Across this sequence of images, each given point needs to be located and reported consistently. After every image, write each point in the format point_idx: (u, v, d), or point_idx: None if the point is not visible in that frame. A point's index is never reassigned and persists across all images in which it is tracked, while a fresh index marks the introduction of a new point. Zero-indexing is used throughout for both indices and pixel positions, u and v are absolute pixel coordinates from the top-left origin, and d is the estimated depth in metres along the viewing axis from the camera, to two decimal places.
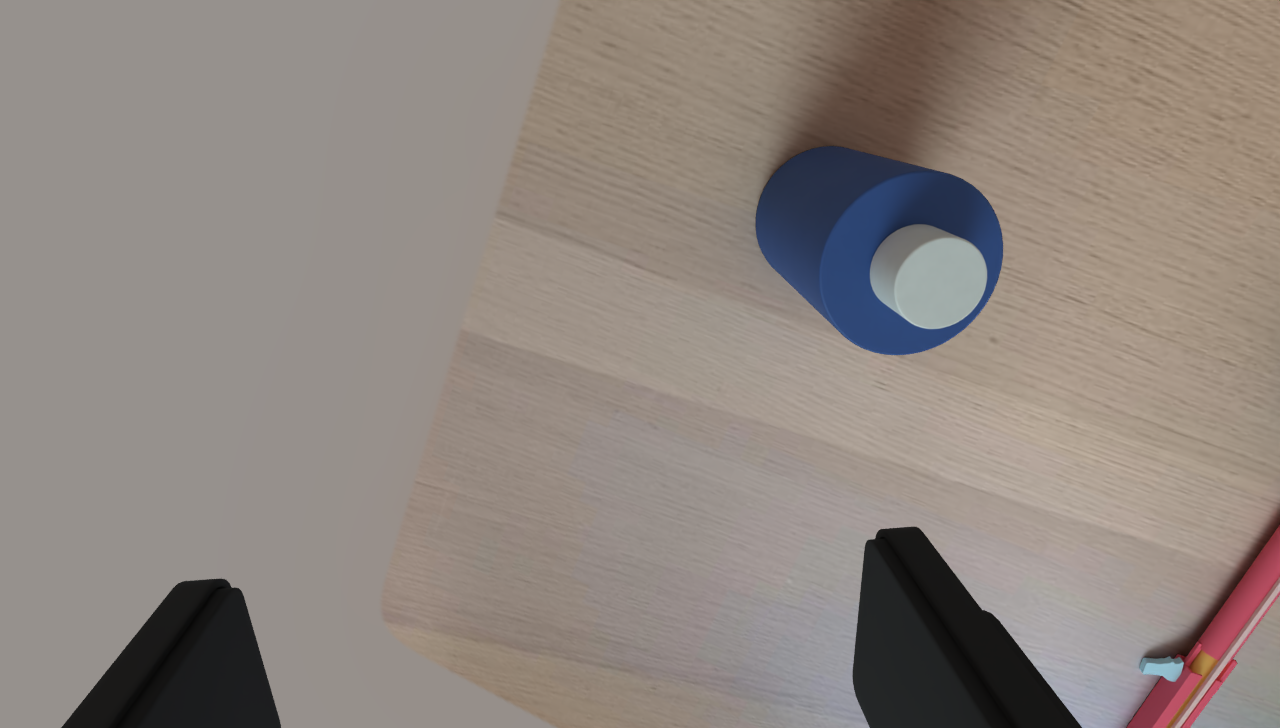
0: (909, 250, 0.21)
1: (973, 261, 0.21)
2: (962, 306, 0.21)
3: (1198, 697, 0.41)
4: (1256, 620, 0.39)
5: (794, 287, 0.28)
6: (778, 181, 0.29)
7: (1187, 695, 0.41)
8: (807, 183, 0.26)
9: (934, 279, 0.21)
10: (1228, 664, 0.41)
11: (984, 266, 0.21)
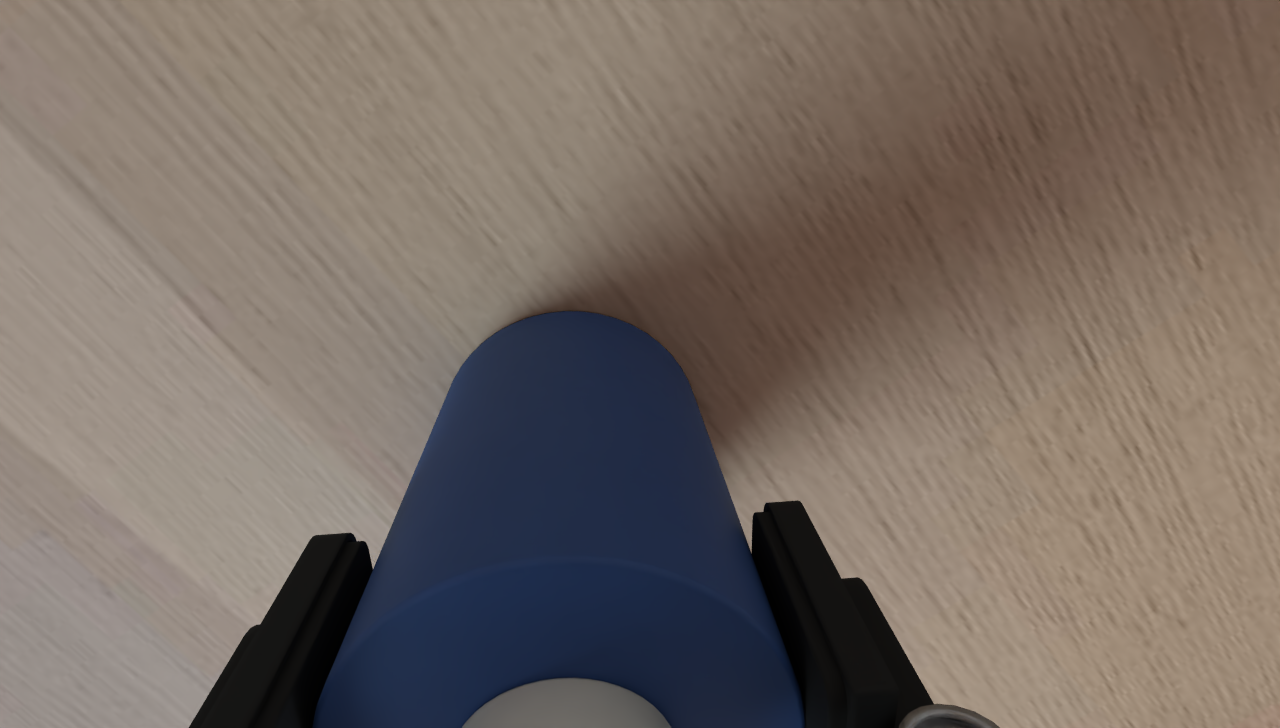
0: None
1: None
2: None
3: None
4: None
5: None
6: (517, 338, 0.15)
7: None
8: (524, 394, 0.12)
9: None
10: None
11: None
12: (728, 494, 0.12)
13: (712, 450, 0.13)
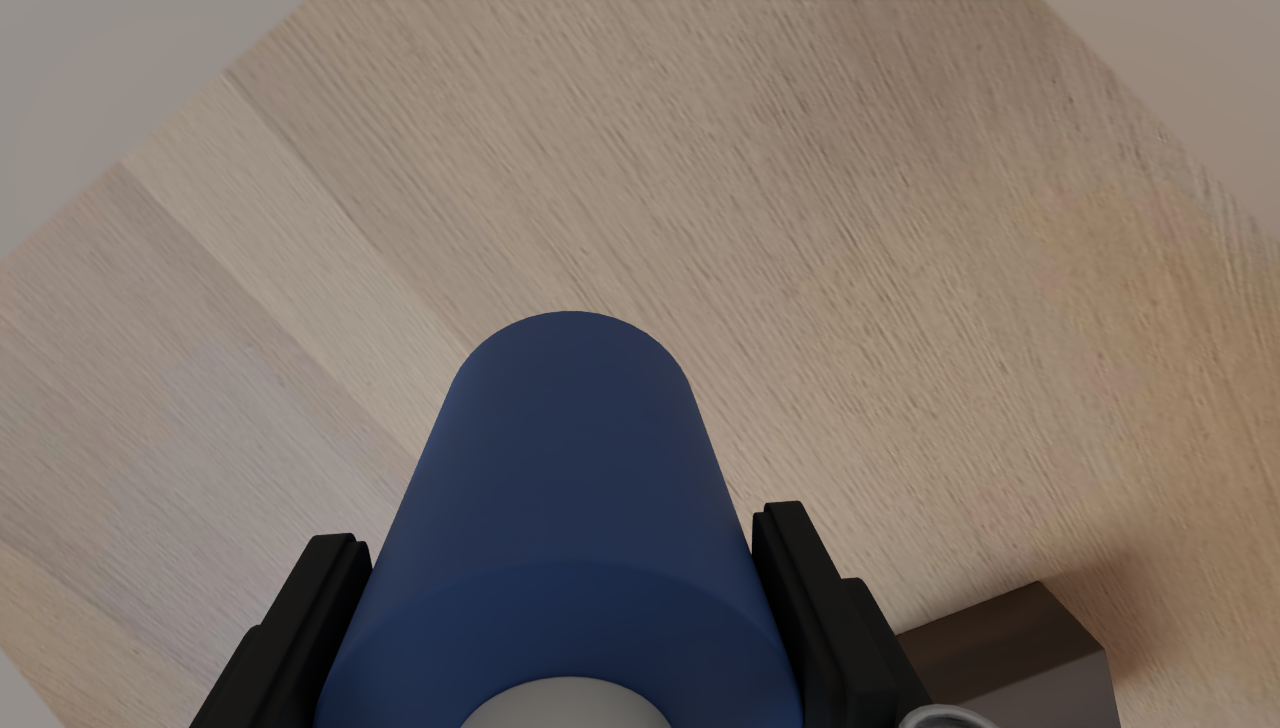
0: None
1: None
2: None
3: None
4: None
5: None
6: (517, 338, 0.15)
7: None
8: (524, 393, 0.12)
9: None
10: None
11: None
12: (727, 493, 0.12)
13: (711, 450, 0.13)
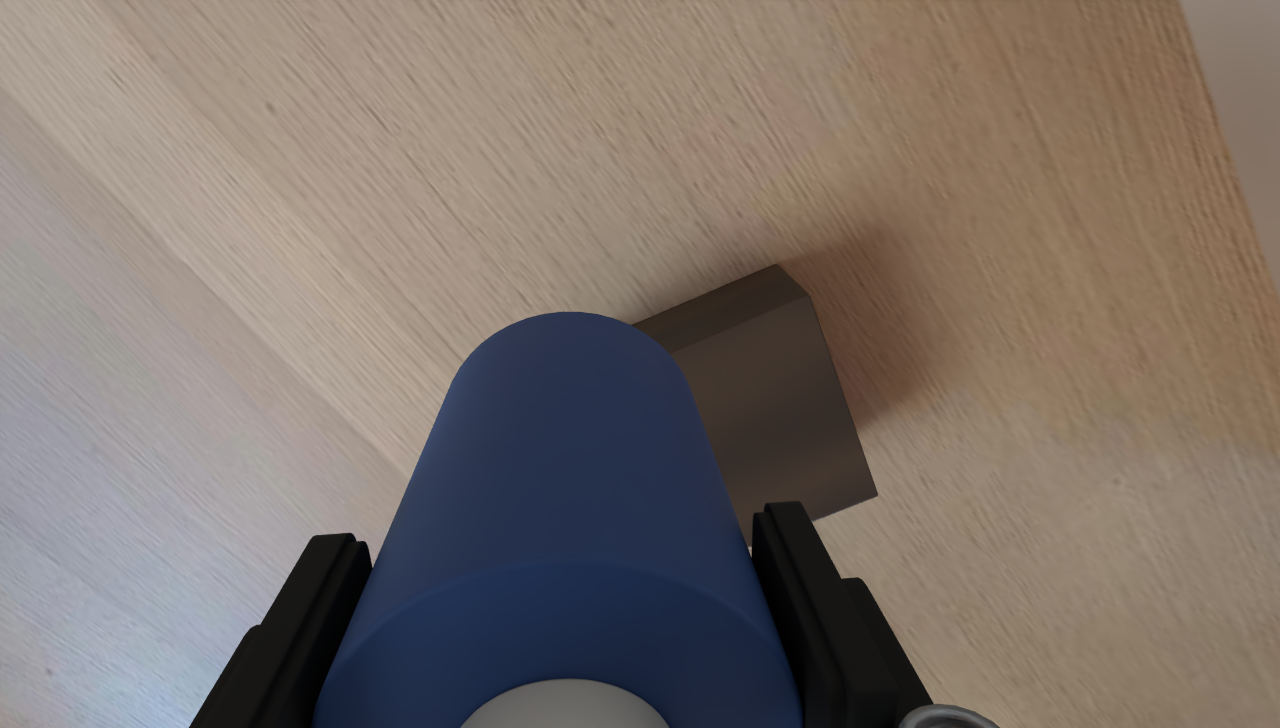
0: None
1: None
2: None
3: None
4: None
5: None
6: (516, 339, 0.15)
7: None
8: (523, 394, 0.12)
9: None
10: None
11: None
12: (727, 495, 0.12)
13: (711, 451, 0.13)
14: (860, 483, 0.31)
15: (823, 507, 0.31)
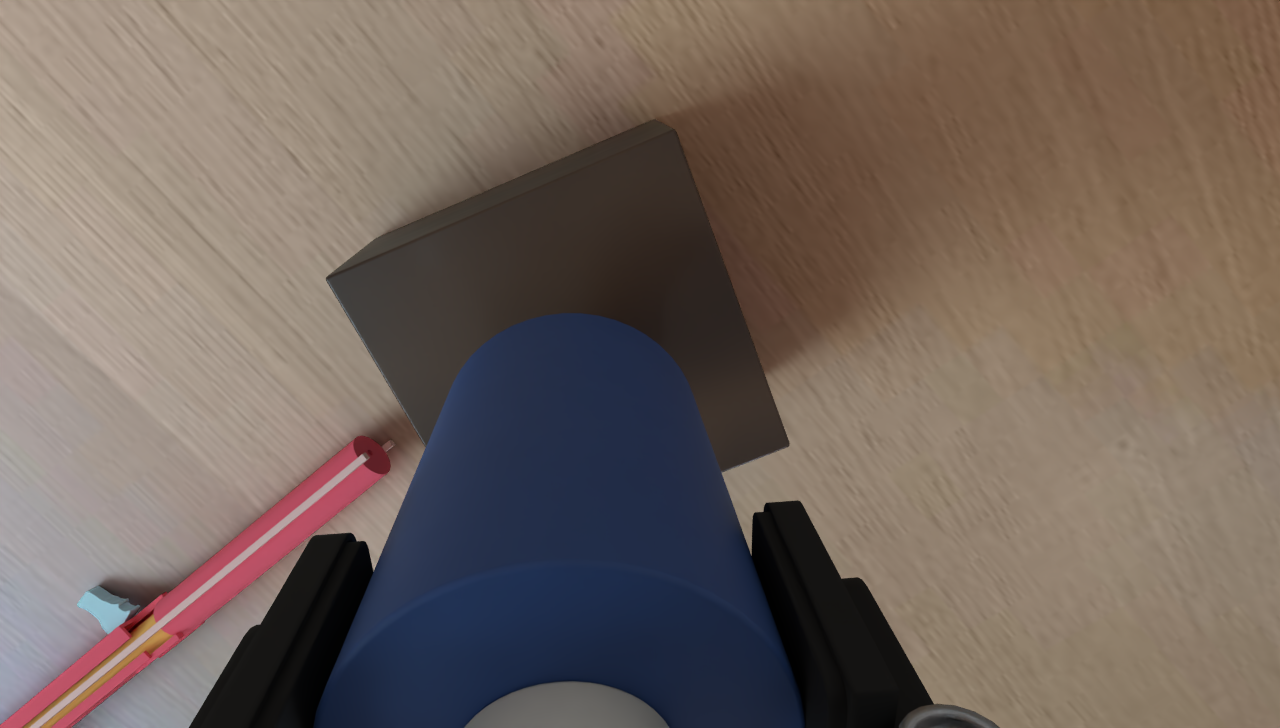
0: None
1: None
2: None
3: (108, 665, 0.27)
4: (212, 582, 0.26)
5: None
6: (517, 340, 0.15)
7: (105, 658, 0.27)
8: (524, 396, 0.12)
9: None
10: (171, 637, 0.27)
11: None
12: (728, 496, 0.12)
13: (712, 452, 0.13)
14: (763, 427, 0.22)
15: None
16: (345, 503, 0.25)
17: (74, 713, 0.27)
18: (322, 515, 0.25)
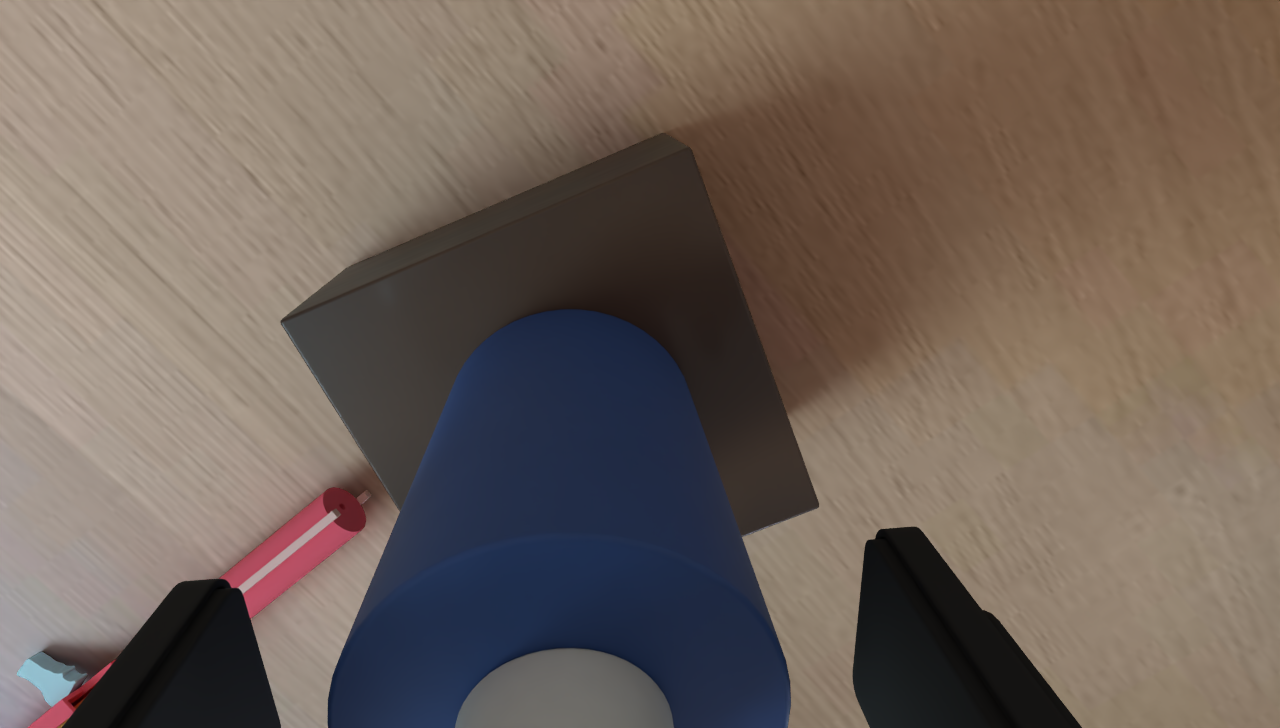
0: None
1: None
2: None
3: None
4: None
5: None
6: (518, 335, 0.15)
7: None
8: (526, 387, 0.13)
9: None
10: None
11: None
12: (720, 482, 0.13)
13: (706, 441, 0.14)
14: (789, 486, 0.19)
15: None
16: (314, 564, 0.23)
17: None
18: (288, 577, 0.22)
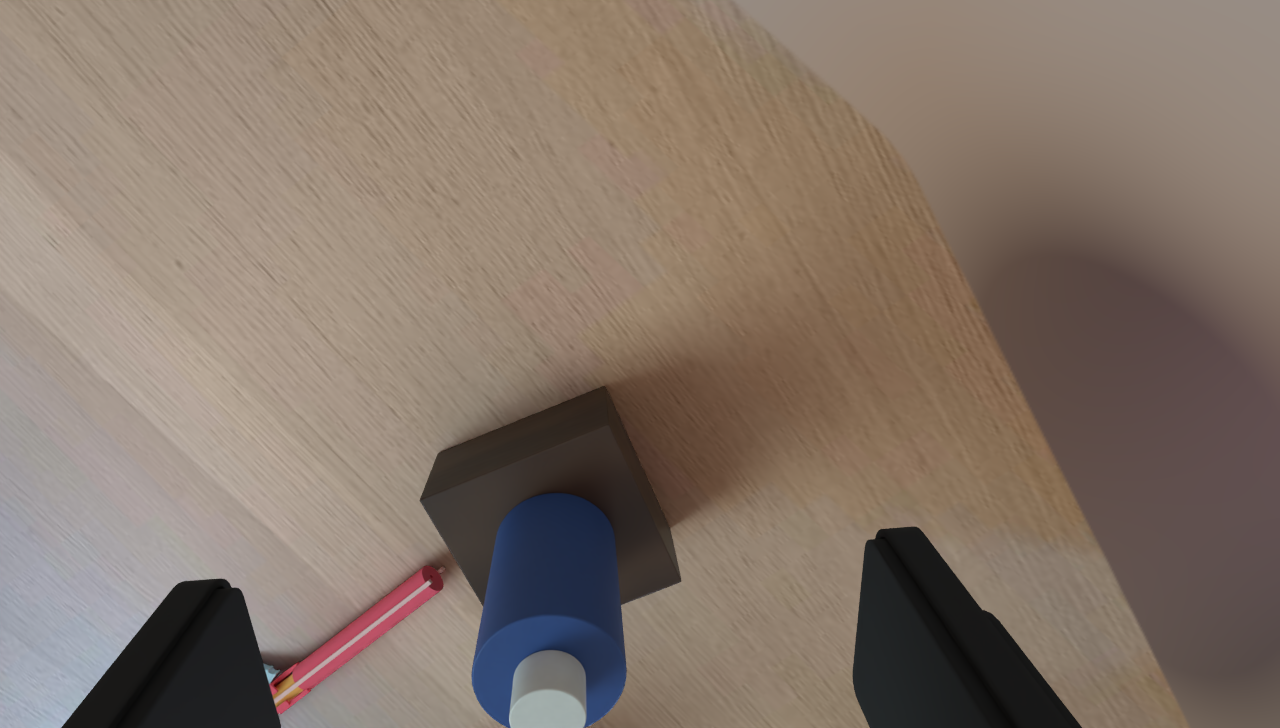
0: (538, 686, 0.26)
1: (577, 716, 0.26)
2: None
3: None
4: (332, 657, 0.41)
5: None
6: (531, 510, 0.34)
7: None
8: (535, 546, 0.31)
9: (544, 714, 0.26)
10: (303, 691, 0.42)
11: (583, 722, 0.26)
12: (613, 584, 0.31)
13: (611, 563, 0.33)
14: (665, 571, 0.38)
15: (636, 591, 0.38)
16: (416, 608, 0.41)
17: None
18: (401, 616, 0.41)
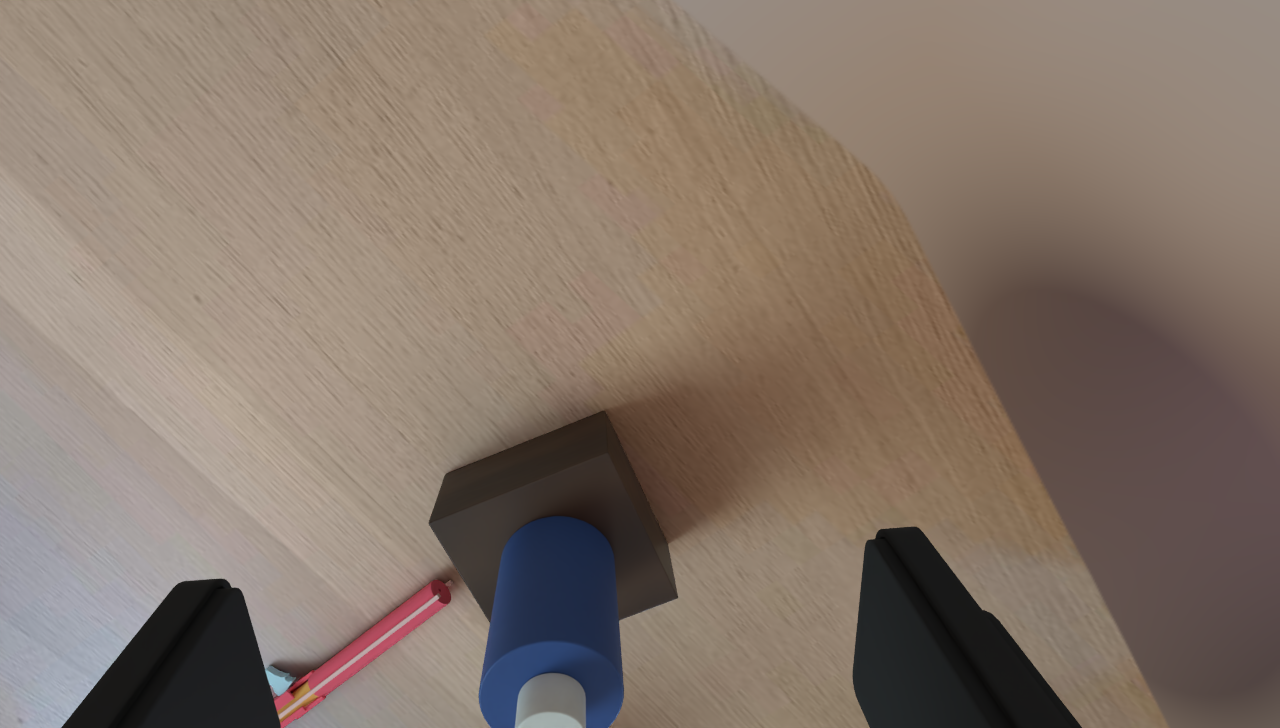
0: (541, 708, 0.28)
1: None
2: None
3: (280, 715, 0.44)
4: (346, 667, 0.43)
5: None
6: (534, 534, 0.36)
7: (277, 710, 0.45)
8: (538, 571, 0.33)
9: None
10: (318, 697, 0.44)
11: None
12: (612, 607, 0.33)
13: (610, 585, 0.35)
14: (662, 589, 0.39)
15: (634, 607, 0.40)
16: (425, 620, 0.43)
17: None
18: (411, 627, 0.43)
